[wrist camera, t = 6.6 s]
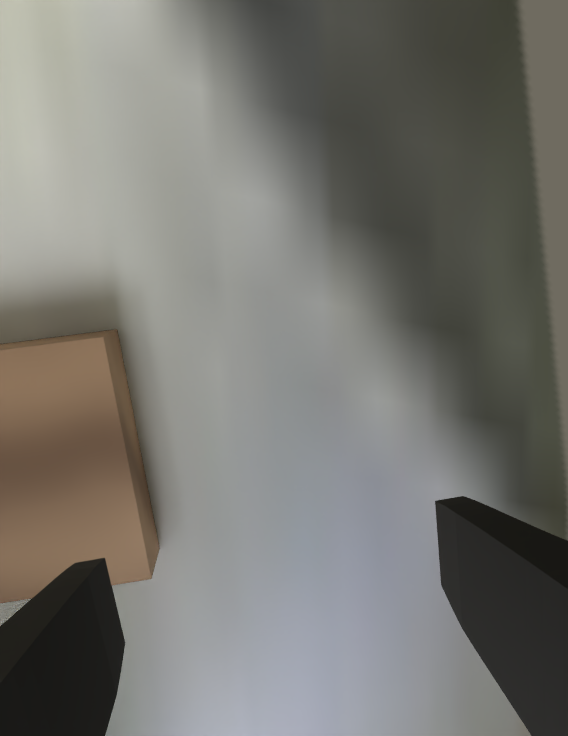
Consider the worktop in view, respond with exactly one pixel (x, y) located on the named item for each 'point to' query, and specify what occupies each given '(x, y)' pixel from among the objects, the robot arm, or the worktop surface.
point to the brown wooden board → (70, 465)
